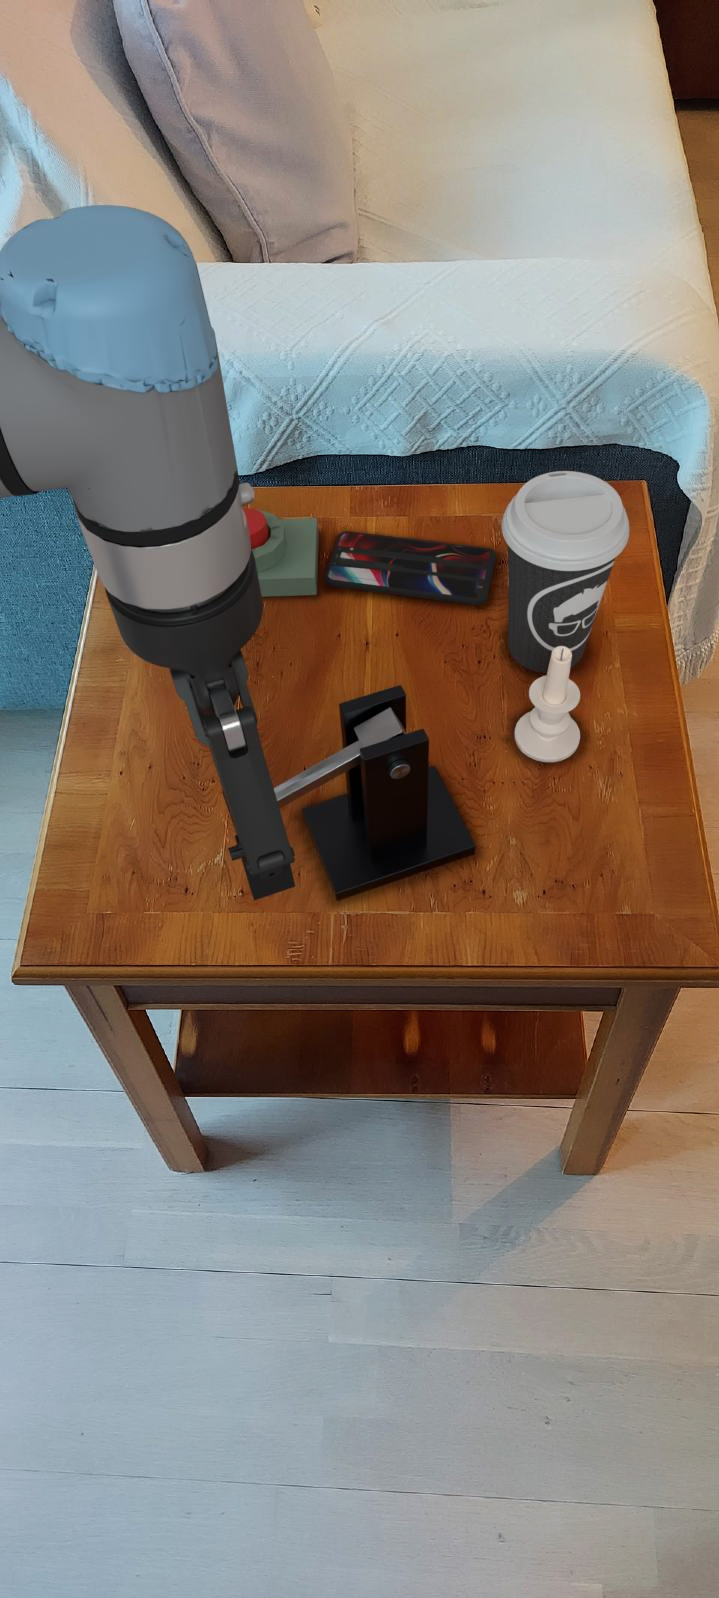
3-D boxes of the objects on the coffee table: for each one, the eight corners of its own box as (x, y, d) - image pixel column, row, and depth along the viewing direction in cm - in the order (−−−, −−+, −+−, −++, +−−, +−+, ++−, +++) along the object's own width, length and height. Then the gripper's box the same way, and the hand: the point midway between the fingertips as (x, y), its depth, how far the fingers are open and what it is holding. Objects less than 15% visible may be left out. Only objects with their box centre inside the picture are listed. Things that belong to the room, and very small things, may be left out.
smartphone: (486, 602, 88) (322, 581, 91) (486, 607, 89) (322, 586, 91) (497, 547, 92) (340, 528, 95) (497, 553, 93) (340, 534, 95)
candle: (577, 766, 79) (598, 679, 70) (511, 759, 80) (523, 671, 71) (581, 715, 82) (600, 625, 73) (516, 708, 82) (529, 618, 74)
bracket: (336, 901, 73) (322, 794, 62) (302, 816, 77) (283, 701, 66) (475, 854, 75) (486, 741, 63) (434, 773, 79) (438, 654, 68)
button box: (185, 599, 91) (177, 566, 88) (194, 540, 96) (186, 506, 93) (316, 595, 91) (313, 561, 88) (318, 535, 95) (315, 501, 92)
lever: (251, 859, 67) (235, 845, 65) (231, 801, 70) (214, 786, 68) (422, 764, 66) (410, 747, 64) (394, 709, 68) (382, 691, 66)
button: (227, 550, 89) (224, 535, 88) (230, 524, 91) (227, 508, 90) (267, 549, 89) (265, 534, 88) (269, 522, 91) (267, 507, 90)
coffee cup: (609, 615, 88) (641, 473, 76) (593, 696, 83) (625, 558, 70) (501, 597, 90) (516, 456, 77) (480, 676, 85) (492, 537, 72)
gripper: (333, 724, 43) (360, 945, 60) (188, 403, 56) (244, 659, 74) (163, 779, 42) (240, 987, 59) (57, 437, 55) (145, 689, 73)
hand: (242, 805), depth 66 cm, fingers open, 13 cm apart
